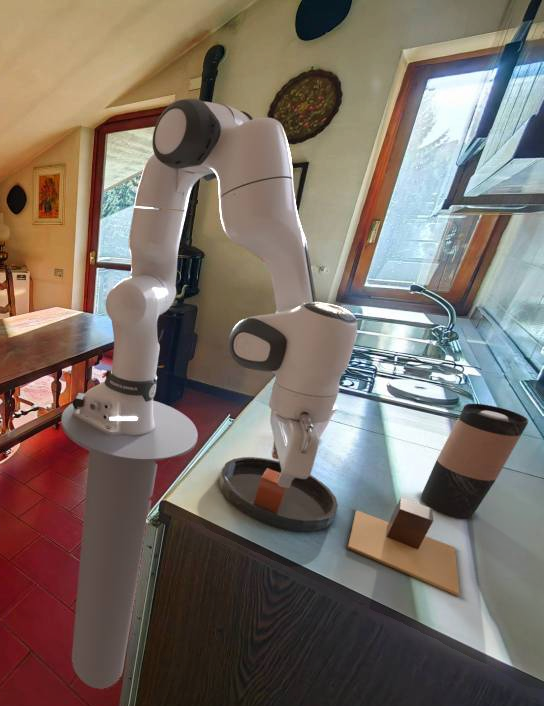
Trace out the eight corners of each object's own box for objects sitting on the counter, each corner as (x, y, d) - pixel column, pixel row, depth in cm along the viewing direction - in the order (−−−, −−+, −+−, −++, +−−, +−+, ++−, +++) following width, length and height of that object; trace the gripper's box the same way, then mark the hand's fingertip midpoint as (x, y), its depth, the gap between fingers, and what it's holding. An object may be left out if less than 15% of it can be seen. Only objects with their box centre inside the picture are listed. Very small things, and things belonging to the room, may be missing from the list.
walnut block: (386, 536, 66) (399, 508, 64) (387, 524, 69) (400, 497, 66) (418, 549, 64) (433, 521, 61) (418, 536, 66) (432, 508, 64)
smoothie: (306, 430, 101) (322, 381, 95) (331, 443, 95) (350, 391, 90) (288, 434, 99) (304, 384, 93) (313, 447, 93) (331, 394, 88)
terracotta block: (253, 503, 73) (261, 477, 71) (259, 493, 76) (267, 467, 74) (277, 513, 71) (286, 486, 69) (282, 503, 74) (291, 476, 71)
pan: (204, 496, 76) (207, 485, 75) (236, 456, 89) (239, 447, 88) (323, 549, 64) (328, 538, 63) (340, 494, 77) (344, 484, 76)
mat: (347, 548, 64) (348, 545, 64) (355, 512, 72) (356, 509, 72) (458, 596, 56) (459, 594, 56) (453, 549, 64) (454, 547, 64)
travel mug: (483, 514, 72) (540, 419, 65) (459, 523, 70) (515, 426, 62) (433, 489, 79) (478, 400, 71) (409, 497, 77) (454, 406, 69)
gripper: (338, 434, 55) (310, 511, 61) (311, 384, 73) (291, 447, 78) (287, 424, 58) (264, 499, 63) (273, 378, 75) (256, 440, 80)
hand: (279, 470), depth 71 cm, fingers open, 8 cm apart
